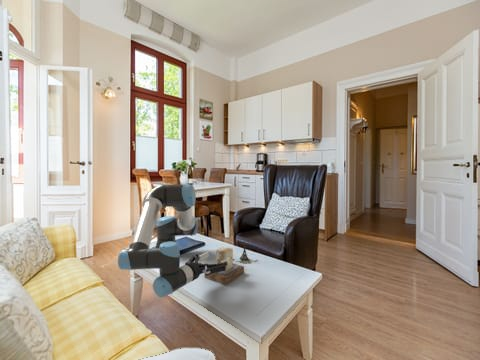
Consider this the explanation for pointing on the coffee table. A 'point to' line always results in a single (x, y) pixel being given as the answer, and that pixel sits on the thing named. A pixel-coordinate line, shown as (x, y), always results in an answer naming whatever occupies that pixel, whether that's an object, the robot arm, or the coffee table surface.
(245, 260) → the eiffel tower figurine
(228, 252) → the oak block
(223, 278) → the walnut frame
